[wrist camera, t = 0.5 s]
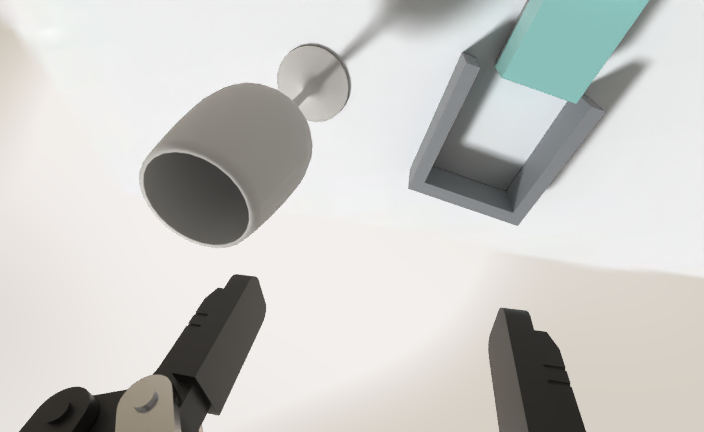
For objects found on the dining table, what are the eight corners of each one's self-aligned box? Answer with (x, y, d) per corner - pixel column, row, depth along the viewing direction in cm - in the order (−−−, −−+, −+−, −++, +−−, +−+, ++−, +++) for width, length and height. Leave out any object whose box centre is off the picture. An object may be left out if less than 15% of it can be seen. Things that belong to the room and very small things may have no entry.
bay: (462, 52, 29) (466, 62, 26) (587, 96, 29) (605, 111, 26) (410, 169, 37) (408, 188, 33) (510, 203, 37) (517, 225, 34)
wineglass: (272, 40, 31) (96, 120, 15) (352, 46, 31) (259, 139, 14) (279, 118, 36) (150, 248, 19) (349, 126, 35) (277, 269, 18)
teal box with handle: (549, -50, 24) (581, -55, 19) (626, -23, 25) (678, -20, 19) (492, 63, 29) (505, 83, 24) (556, 85, 29) (583, 110, 24)
